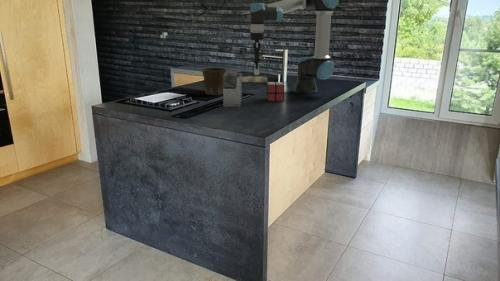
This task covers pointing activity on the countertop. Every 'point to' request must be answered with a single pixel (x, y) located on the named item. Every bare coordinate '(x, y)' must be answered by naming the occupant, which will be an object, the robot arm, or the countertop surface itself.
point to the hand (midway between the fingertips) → (256, 73)
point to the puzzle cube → (275, 91)
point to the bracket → (233, 94)
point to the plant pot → (214, 80)
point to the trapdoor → (231, 79)
